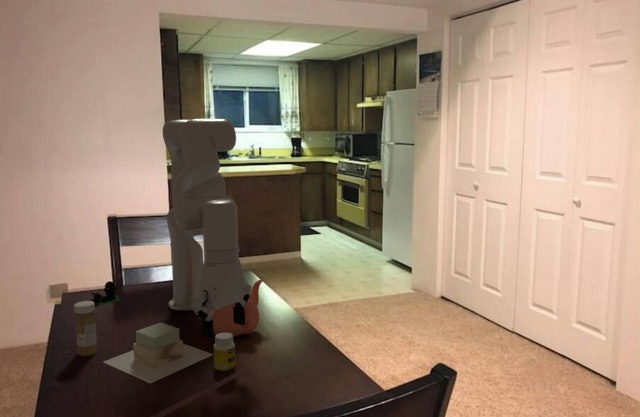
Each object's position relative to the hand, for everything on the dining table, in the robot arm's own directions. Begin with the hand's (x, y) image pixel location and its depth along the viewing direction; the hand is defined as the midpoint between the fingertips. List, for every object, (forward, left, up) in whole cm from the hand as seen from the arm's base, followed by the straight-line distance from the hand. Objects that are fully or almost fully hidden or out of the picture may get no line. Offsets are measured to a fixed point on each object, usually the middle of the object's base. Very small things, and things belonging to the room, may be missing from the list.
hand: (224, 330), depth 119 cm
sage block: (+6, -16, -5) cm, 18 cm away
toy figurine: (-13, -70, -10) cm, 72 cm away
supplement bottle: (0, 0, -10) cm, 10 cm away
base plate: (+6, -16, -10) cm, 20 cm away
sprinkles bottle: (+14, -33, -10) cm, 37 cm away
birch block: (+6, -16, -9) cm, 20 cm away
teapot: (-18, -16, -10) cm, 27 cm away
